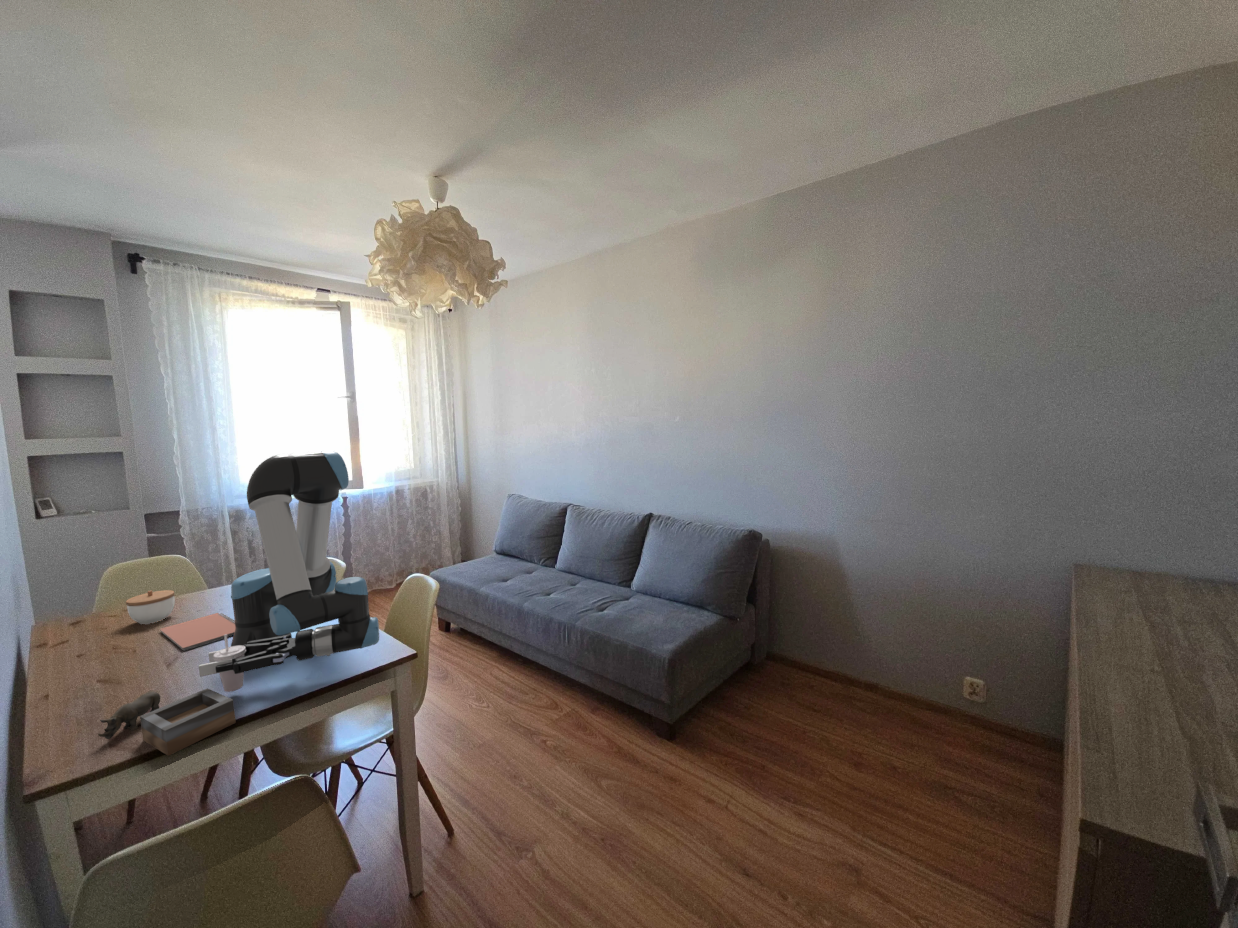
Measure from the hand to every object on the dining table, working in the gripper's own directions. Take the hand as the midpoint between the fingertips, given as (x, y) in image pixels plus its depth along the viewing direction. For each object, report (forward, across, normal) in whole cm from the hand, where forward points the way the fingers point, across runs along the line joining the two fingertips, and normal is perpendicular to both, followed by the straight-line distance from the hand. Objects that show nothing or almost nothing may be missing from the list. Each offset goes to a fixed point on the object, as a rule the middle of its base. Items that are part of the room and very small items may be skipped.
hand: (204, 664), depth 118 cm
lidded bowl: (+37, +79, -11) cm, 88 cm away
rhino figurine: (+13, -5, -10) cm, 17 cm away
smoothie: (-5, 0, -8) cm, 9 cm away
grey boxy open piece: (0, -14, -9) cm, 17 cm away
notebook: (+16, +56, -11) cm, 59 cm away
